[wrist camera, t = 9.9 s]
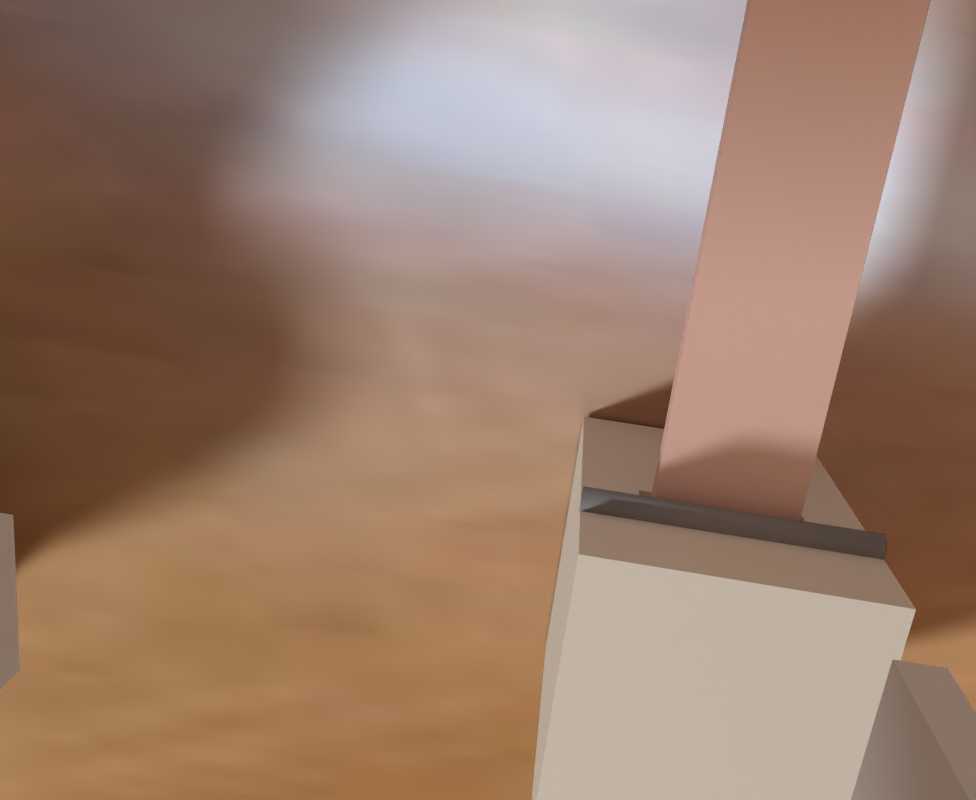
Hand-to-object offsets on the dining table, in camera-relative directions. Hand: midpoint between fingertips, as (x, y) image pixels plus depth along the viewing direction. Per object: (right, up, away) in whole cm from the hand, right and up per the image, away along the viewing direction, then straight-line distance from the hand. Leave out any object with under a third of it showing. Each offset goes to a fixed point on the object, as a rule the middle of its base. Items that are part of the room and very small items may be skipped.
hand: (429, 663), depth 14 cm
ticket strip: (+12, +8, +23) cm, 27 cm away
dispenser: (+11, -4, +37) cm, 38 cm away
